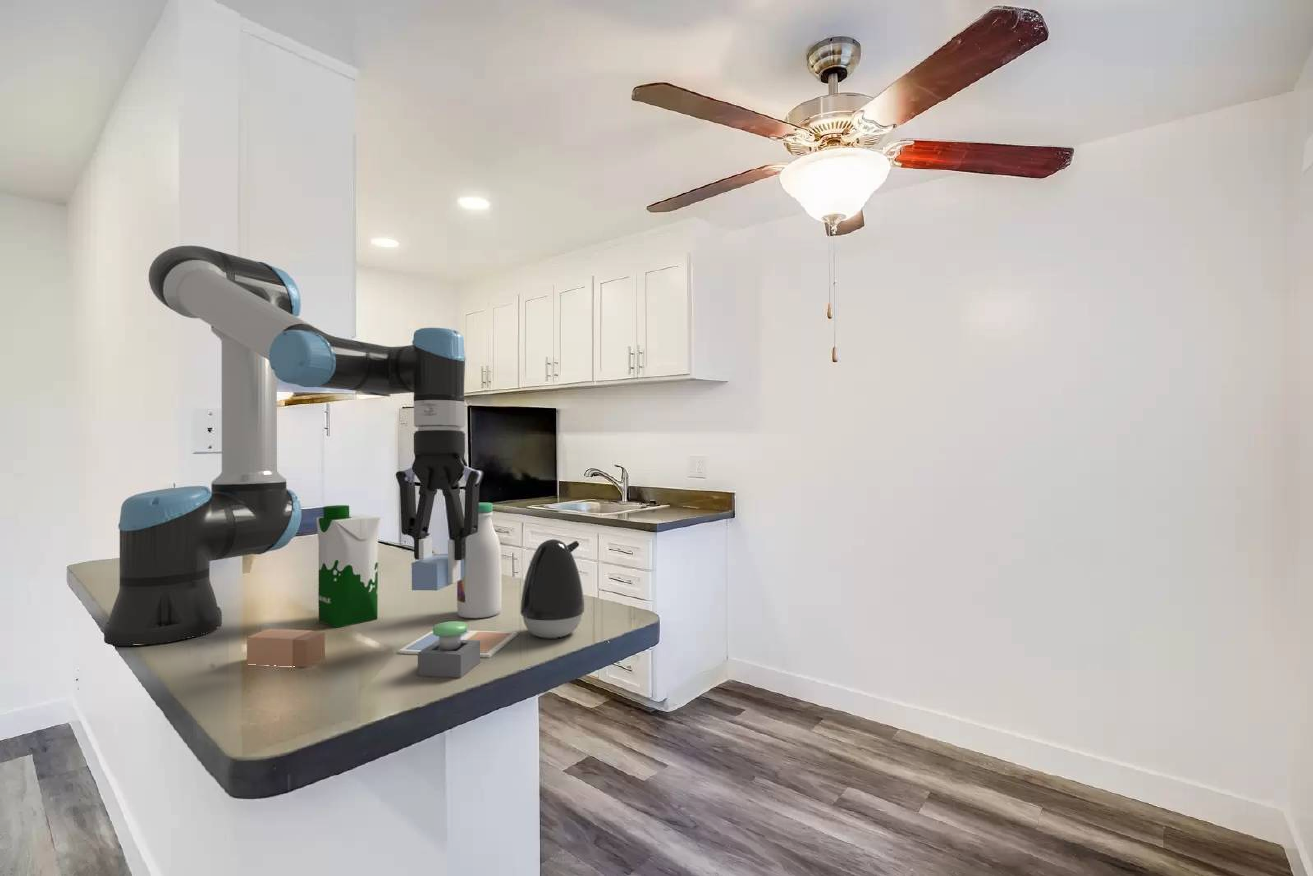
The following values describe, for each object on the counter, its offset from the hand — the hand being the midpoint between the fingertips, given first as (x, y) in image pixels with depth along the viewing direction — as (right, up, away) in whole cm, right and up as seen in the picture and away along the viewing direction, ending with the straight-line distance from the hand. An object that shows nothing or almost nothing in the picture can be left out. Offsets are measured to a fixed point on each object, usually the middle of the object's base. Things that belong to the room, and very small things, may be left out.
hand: (439, 580), depth 97 cm
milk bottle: (+1, -10, +17) cm, 20 cm away
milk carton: (-20, -10, +13) cm, 26 cm away
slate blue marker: (0, 0, 0) cm, 0 cm away
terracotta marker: (-19, -10, -9) cm, 23 cm away
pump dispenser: (+17, -10, +4) cm, 20 cm away
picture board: (+3, -10, -1) cm, 10 cm away
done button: (+5, -6, -11) cm, 14 cm away
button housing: (+5, -9, -12) cm, 16 cm away
